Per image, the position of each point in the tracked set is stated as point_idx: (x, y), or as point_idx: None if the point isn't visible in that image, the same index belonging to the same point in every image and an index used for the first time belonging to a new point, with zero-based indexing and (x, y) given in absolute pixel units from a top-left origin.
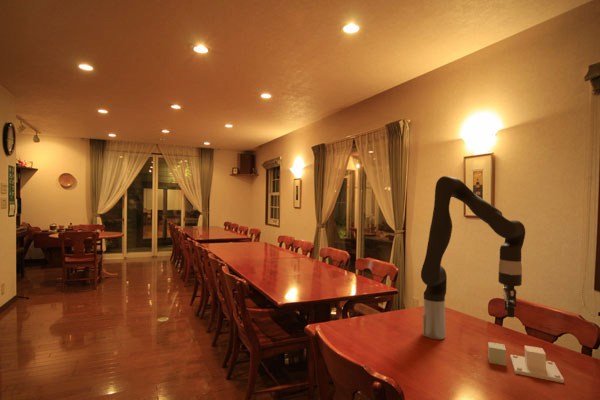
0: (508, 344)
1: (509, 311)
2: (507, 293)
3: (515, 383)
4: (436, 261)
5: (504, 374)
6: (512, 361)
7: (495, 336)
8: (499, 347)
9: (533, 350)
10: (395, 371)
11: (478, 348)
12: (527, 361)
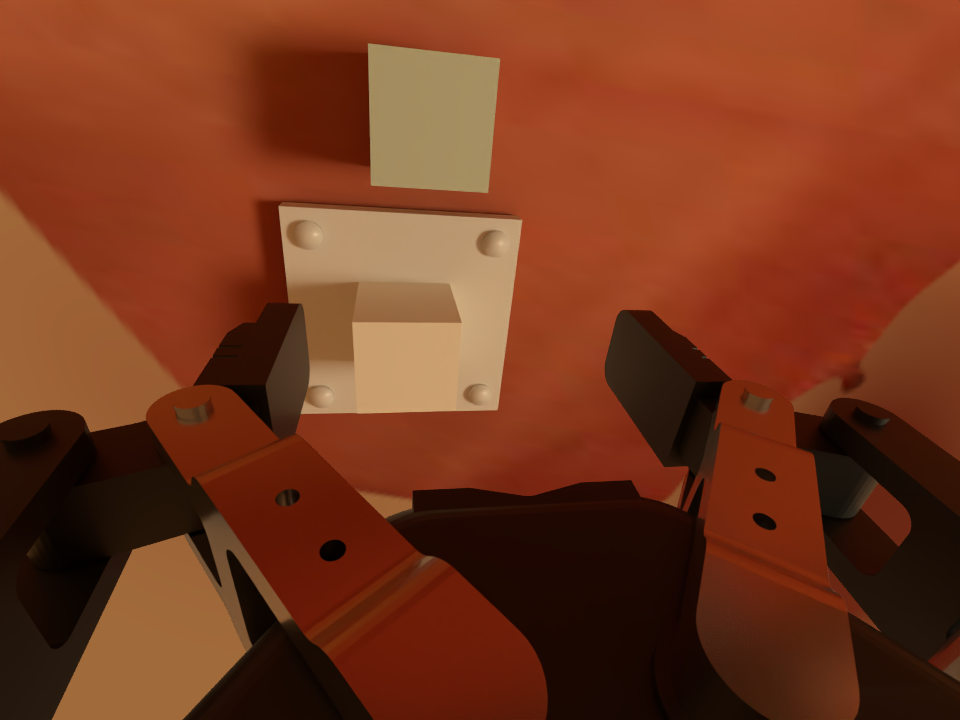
0: (722, 239)
1: (213, 369)
2: (229, 693)
3: (137, 178)
4: None
5: (234, 132)
6: (412, 214)
7: (843, 181)
8: (404, 141)
9: (388, 360)
10: None
11: (617, 11)
12: (357, 296)
